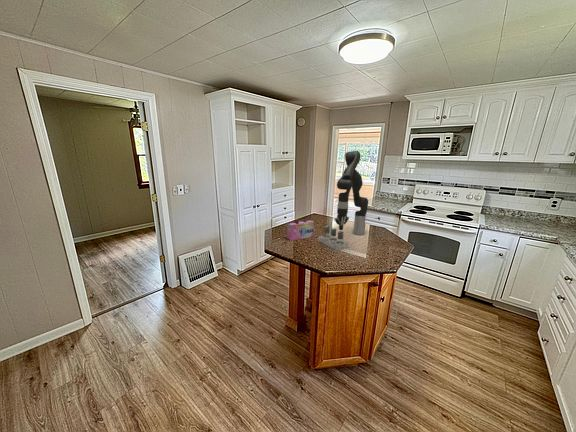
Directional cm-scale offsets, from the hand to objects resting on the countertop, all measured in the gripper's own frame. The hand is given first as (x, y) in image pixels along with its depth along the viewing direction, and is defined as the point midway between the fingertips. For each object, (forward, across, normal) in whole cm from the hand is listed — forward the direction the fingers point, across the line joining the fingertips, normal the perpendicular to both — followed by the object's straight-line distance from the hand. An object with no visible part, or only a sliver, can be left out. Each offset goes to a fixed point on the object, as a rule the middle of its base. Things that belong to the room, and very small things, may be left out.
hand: (340, 229), depth 174 cm
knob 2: (+7, 0, 0) cm, 7 cm away
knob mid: (+7, 0, -8) cm, 11 cm away
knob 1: (+7, 0, -16) cm, 18 cm away
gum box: (+15, +14, -33) cm, 39 cm away
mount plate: (+14, 0, -8) cm, 16 cm away
